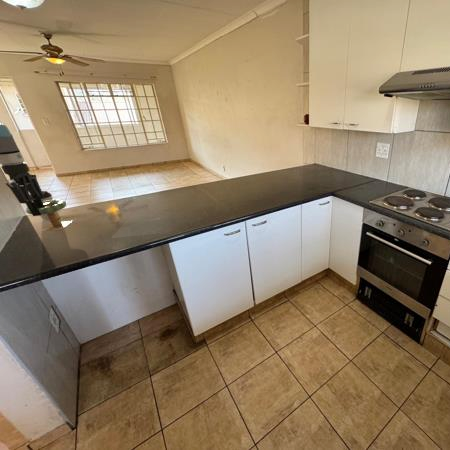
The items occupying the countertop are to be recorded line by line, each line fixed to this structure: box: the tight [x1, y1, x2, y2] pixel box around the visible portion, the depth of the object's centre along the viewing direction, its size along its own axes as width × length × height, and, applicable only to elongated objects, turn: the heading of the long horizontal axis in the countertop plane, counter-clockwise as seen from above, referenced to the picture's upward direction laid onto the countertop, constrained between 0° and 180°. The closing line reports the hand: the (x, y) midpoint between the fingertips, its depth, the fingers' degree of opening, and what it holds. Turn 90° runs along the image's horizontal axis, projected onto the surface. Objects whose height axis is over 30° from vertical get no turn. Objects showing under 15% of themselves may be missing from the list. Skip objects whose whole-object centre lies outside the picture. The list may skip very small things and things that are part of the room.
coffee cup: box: [29, 190, 60, 222], centre depth 131 cm, size 9×9×15 cm
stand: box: [40, 202, 73, 232], centre depth 121 cm, size 9×9×14 cm
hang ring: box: [25, 199, 67, 215], centre depth 118 cm, size 14×14×3 cm
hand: (40, 213), depth 114 cm, fingers closed on hang ring, 3 cm apart
